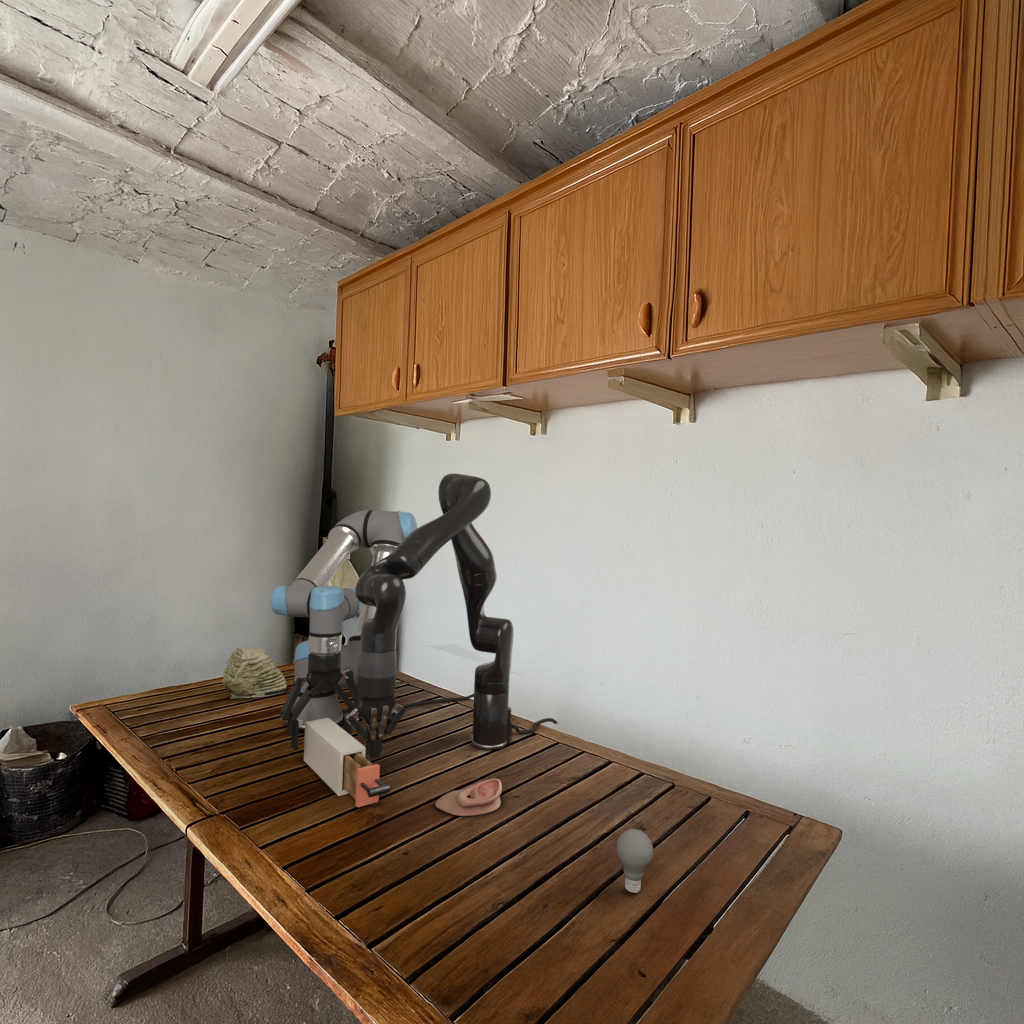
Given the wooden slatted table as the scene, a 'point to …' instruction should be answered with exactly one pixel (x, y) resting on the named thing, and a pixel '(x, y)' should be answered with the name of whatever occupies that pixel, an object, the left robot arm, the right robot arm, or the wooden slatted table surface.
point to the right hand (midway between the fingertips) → (373, 756)
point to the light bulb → (634, 857)
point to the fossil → (252, 674)
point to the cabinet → (329, 751)
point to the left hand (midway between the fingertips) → (321, 742)
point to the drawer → (362, 779)
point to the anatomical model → (472, 799)
